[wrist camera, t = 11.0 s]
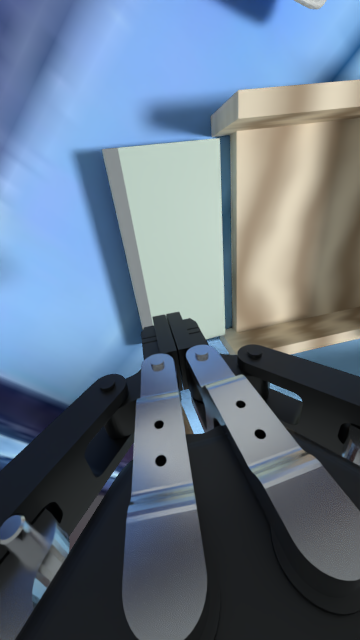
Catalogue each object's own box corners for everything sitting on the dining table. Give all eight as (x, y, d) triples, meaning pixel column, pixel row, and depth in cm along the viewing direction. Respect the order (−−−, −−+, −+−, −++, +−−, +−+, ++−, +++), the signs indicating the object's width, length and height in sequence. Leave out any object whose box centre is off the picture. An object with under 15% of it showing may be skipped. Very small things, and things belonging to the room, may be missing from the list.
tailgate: (219, 138, 20) (102, 149, 18) (225, 334, 30) (148, 355, 28) (212, 141, 22) (102, 152, 20) (220, 328, 32) (146, 347, 30)
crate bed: (417, 95, 24) (645, 17, 13) (357, 309, 35) (455, 357, 25) (210, 116, 21) (293, 38, 11) (220, 339, 33) (264, 406, 22)
